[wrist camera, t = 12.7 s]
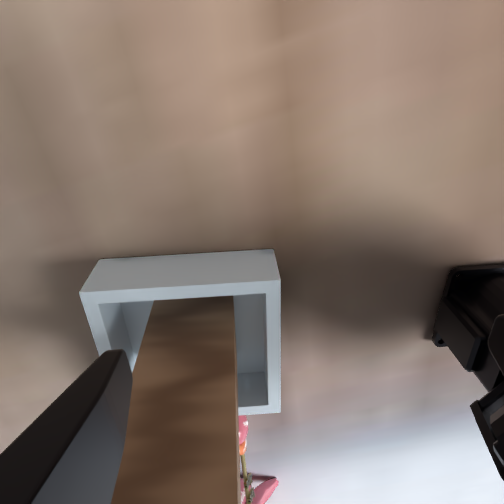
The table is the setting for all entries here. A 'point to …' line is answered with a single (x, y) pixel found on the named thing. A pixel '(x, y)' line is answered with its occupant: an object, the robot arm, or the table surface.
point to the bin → (194, 286)
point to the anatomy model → (249, 496)
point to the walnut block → (184, 408)
